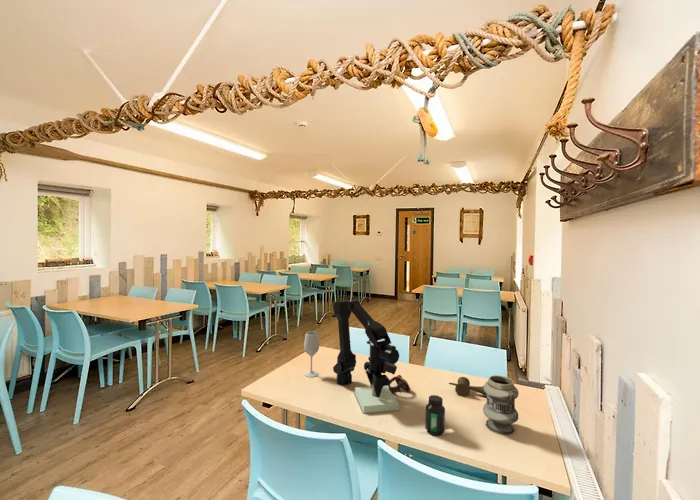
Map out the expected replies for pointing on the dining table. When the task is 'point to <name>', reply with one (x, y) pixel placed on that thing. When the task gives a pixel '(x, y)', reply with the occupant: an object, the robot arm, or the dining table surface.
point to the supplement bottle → (435, 416)
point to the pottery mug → (400, 383)
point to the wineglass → (311, 349)
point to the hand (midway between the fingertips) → (375, 393)
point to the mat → (372, 412)
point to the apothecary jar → (500, 404)
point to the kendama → (466, 387)
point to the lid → (375, 400)
